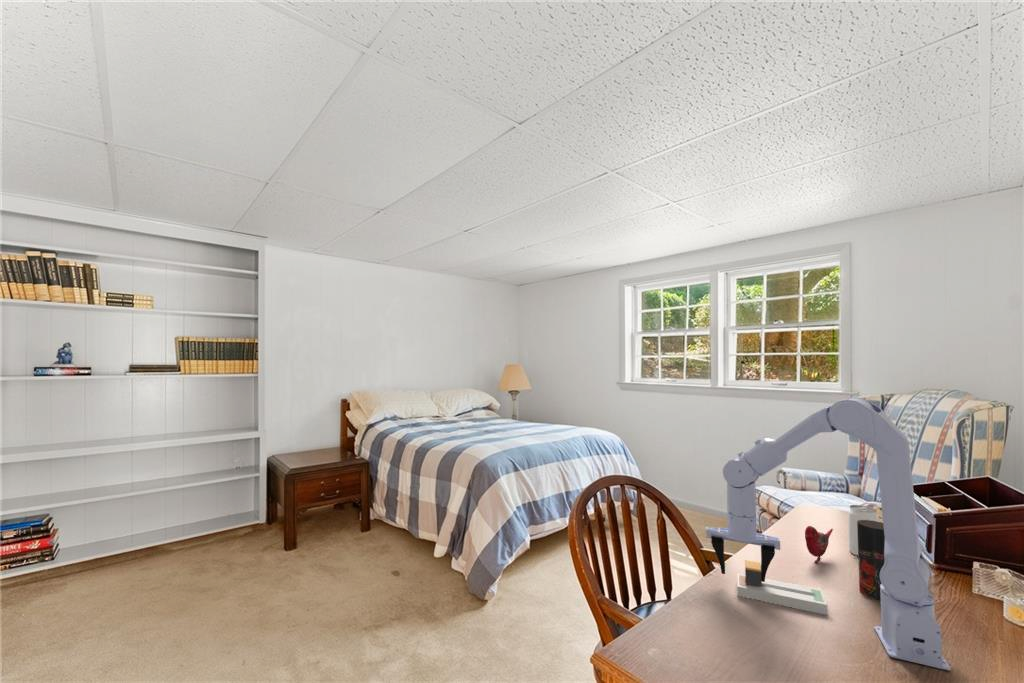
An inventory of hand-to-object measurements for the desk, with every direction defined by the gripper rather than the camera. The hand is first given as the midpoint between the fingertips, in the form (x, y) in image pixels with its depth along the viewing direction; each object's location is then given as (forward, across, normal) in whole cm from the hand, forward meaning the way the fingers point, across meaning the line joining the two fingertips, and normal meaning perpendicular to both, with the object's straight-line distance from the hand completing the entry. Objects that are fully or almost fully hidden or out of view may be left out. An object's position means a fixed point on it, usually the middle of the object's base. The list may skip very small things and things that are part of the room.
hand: (742, 575), depth 99 cm
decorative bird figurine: (+3, -18, -26) cm, 32 cm away
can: (+3, -29, -36) cm, 46 cm away
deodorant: (+3, -26, -11) cm, 28 cm away
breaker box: (+3, -7, 0) cm, 8 cm away
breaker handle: (+1, -2, 0) cm, 2 cm away
